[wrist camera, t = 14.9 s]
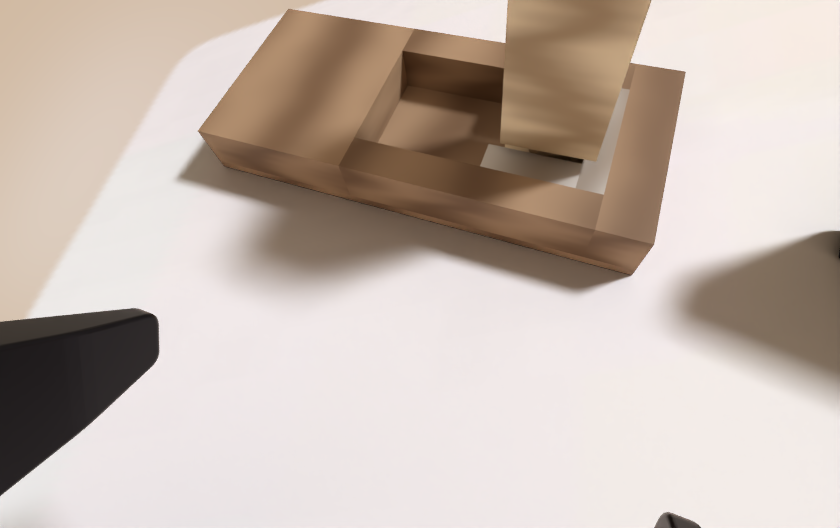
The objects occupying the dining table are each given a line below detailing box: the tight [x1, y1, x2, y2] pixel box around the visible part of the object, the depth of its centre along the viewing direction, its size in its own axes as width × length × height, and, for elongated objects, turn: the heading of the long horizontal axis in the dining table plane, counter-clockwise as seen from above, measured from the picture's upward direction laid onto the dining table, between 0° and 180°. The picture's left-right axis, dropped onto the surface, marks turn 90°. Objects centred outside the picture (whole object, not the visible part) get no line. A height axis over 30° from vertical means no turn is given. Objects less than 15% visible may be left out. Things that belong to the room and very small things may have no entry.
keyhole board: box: [198, 9, 685, 275], centre depth 26 cm, size 24×11×3 cm, turn 69°
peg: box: [500, 0, 651, 164], centre depth 19 cm, size 5×5×15 cm
